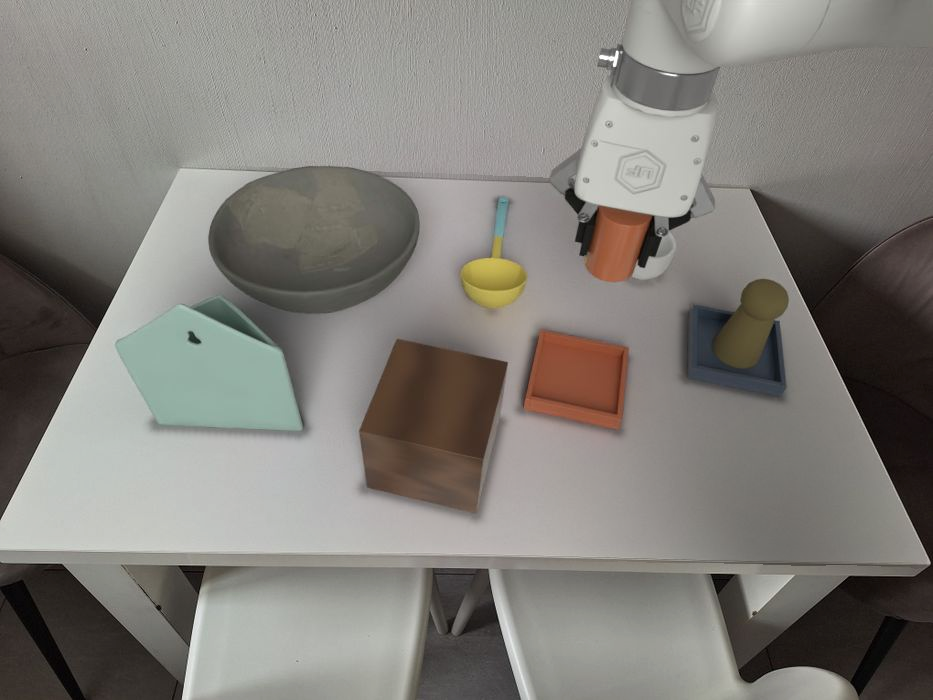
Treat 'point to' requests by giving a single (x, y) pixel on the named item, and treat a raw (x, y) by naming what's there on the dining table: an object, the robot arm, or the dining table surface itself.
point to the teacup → (657, 260)
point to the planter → (211, 369)
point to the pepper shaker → (751, 324)
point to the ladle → (494, 271)
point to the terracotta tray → (578, 379)
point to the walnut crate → (433, 424)
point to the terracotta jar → (616, 243)
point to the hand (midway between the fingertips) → (613, 251)
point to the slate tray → (711, 369)
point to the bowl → (314, 237)
